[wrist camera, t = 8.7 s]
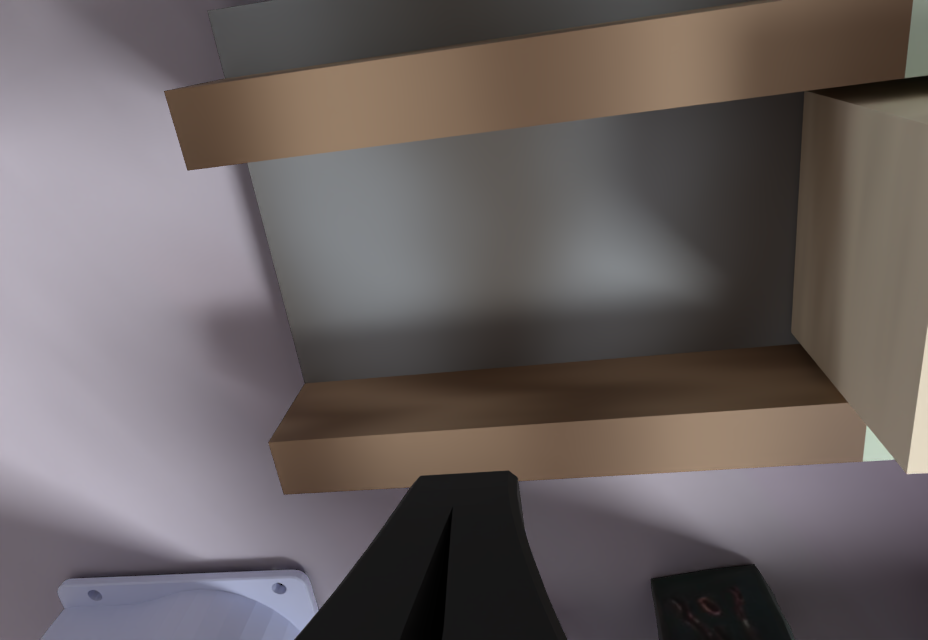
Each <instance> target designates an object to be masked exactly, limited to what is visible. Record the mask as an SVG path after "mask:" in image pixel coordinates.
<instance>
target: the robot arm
mask: <svg viewBox="0 0 928 640" xmlns="http://www.w3.org/2000/svg"><path fill="white" fill-rule="evenodd" d="M278 583H281V584H283V585H285V586H283V585H280V584H278ZM57 593H58V597H59V599H60V601H61V603H62V605H63V607H64V610H63V611H62V612H61V613H60V615H59V616H58V617H57V618H56V620H55V621H54V622H53V624H52V625H51V626H50V627H49V629H48V630H47V631H46V632H45V634H44V635H43V636H42V637H41V639H40V640H567V638H566V636H565V633H564V631H563V629H562V627H561V625H560V623H559V620H558V618H557V616H556V614H555V611H554V609H553V607H552V604H551V602H550V600H549V597H548V595H547V593H546V590H545V587H544V585H543V582H542V579H541V577H540V574H539V571H538V569H537V566H536V563H535V561H534V558H533V555H532V552H531V549H530V546H529V543H528V540H527V536H526V533H525V529H524V521H523V514H522V506H521V498H520V491H519V483H518V477H517V476H515V475H514V474H513V473H511V472H510V471H509V470H507V471H491V472H474V473H457V474H440V475H423V476H420V477H419V478H418V479H417V480H416V481H415V482H414V483H413V485H412V486H411V487H410V489H409V490H408V492H407V493H406V495H405V496H404V498H403V499H402V500H401V502H400V503H399V505H398V506H397V508H396V509H395V511H394V512H393V513H392V515H391V516H390V518H389V519H388V521H387V522H386V523H385V525H384V526H383V528H382V529H381V530H380V532H379V533H378V535H377V536H376V537H375V539H374V540H373V541H372V543H371V544H370V546H369V547H368V548H367V550H366V551H365V552H364V554H363V555H362V556H361V558H360V559H359V560H358V561H357V563H356V564H355V565H354V567H353V568H352V569H351V571H350V572H349V573H348V575H347V576H346V577H345V579H344V580H343V581H342V582H341V584H340V585H339V586H338V588H337V589H336V590H335V591H334V593H333V594H332V595H331V596H330V598H329V599H328V600H327V601H326V602H325V604H324V605H323V606H322V607H321V608H320V610H318V606H317V603H316V600H315V596H314V593H313V589H312V586H311V583H310V580H309V578H308V576H307V575H306V574H305V573H303V572H302V571H299V570H270V571H245V572H221V573H196V574H172V575H148V576H123V577H99V578H74V579H67V580H65V581H64V582H63V583H62V584H61V586H60V587H59V588H58V591H57Z"/></svg>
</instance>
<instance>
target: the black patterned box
mask: <svg viewBox="0 0 928 640" xmlns="http://www.w3.org/2000/svg"><path fill="white" fill-rule="evenodd" d="M651 589H652V595H653V601H654V608H655V614H656V619H657V627H658V635H659V640H795V639H794V636H793V634H792V631H791V628H790V626H789V624H788V623H787V621H786V619H785V618H784V616H783V614H782V612H781V610H780V608H779V605H778V603H777V601H776V598H775V596H774V594H773V592H772V591H771V589H770V588H769V586H768V584H767V583H766V581H765V580H764V578H763V577H762V575H761V574H760V572H759V570H758V569H757V567H756V566H755V565H754V564H753V565H747V566H738V567H729V568H718V569H709V570H703V571H698V572H692V573H686V574H680V575H675V576H670V577H664V578H655V579H651Z"/></svg>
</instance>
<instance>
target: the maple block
mask: <svg viewBox="0 0 928 640" xmlns="http://www.w3.org/2000/svg"><path fill="white" fill-rule="evenodd" d="M791 333H792V334H793V335H794V337H795V338H796V339H797V340H798V342H799V343H800V344H801V345H802V346H803V348H804V349H805V350H806V351H807V353H808V354H809V355H810V356H811V357H812V359H813V360H814V361H815V362H816V364H817V365H818V366H819V367H820V368H821V370H822V371H823V372H824V373H825V375H826V376H827V377H828V378H829V379H830V381H831V382H832V383H833V384H834V386H835V387H836V388H837V389H838V391H839V392H840V393H841V394H842V395H843V397H844V398H845V399H846V400H847V402H848V403H849V404H850V405H851V406H852V408H853V409H854V410H855V411H856V413H857V414H858V415H859V416H860V417H861V419H862V420H863V421H864V422H865V424H866V425H867V426H868V427H869V428H870V430H871V431H872V432H873V433H874V435H875V436H876V437H877V438H878V440H879V441H880V442H881V443H882V444H883V446H884V447H885V448H886V449H887V451H888V452H889V453H890V454H891V455H892V457H893V458H894V459H895V460H896V462H897V463H898V464H899V465H900V466H901V468H902V469H903V470H904V471H905V473H906V474H919V473H928V75H926V76H918V77H911V78H903V79H895V80H887V81H879V82H872V83H864V84H856V85H848V86H841V87H833V88H825V89H817V90H810V91H804V107H803V125H802V143H801V161H800V179H799V197H798V216H797V234H796V252H795V270H794V288H793V306H792V324H791Z"/></svg>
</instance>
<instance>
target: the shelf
mask: <svg viewBox="0 0 928 640" xmlns="http://www.w3.org/2000/svg"><path fill="white" fill-rule="evenodd" d="M207 12H208V15H209V19H210V23H211V27H212V31H213V34H214V38H215V42H216V46H217V50H218V54H219V57H220V61H221V65H222V69H223V73H224V77H225V79H221V80H216V81H211V82H206V83H201V84H197V85H192V86H187V87H182V88H177V89H172V90H167V91H164V93H165V96H166V100H167V103H168V106H169V110H170V113H171V116H172V120H173V123H174V127H175V130H176V133H177V137H178V140H179V143H180V147H181V150H182V153H183V157H184V160H185V164H186V167H187V170H195V169H203V168H211V167H219V166H227V165H234V164H242V163H247V164H248V168H249V172H250V176H251V180H252V184H253V187H254V191H255V195H256V199H257V203H258V206H259V210H260V214H261V218H262V222H263V226H264V229H265V233H266V237H267V241H268V245H269V248H270V252H271V256H272V260H273V264H274V268H275V271H276V275H277V279H278V283H279V287H280V291H281V294H282V298H283V302H284V306H285V310H286V313H287V317H288V321H289V325H290V329H291V333H292V336H293V340H294V344H295V348H296V352H297V356H298V359H299V363H300V367H301V371H302V375H303V378H304V382H305V384H304V386H303V387H302V389H301V390H300V392H299V394H298V395H297V397H296V399H295V400H294V402H293V403H292V405H291V407H290V408H289V410H288V411H287V413H286V415H285V416H284V418H283V420H282V421H281V423H280V424H279V426H278V428H277V429H276V431H275V433H274V434H273V436H272V437H271V439H270V441H269V442H268V443H269V446H270V450H271V453H272V456H273V460H274V463H275V467H276V470H277V473H278V477H279V480H280V483H281V487H282V490H283V493H284V495H285V494H302V493H320V492H337V491H355V490H372V489H390V488H407V487H411V486H412V485H413V483H414V482H415V481H416V480H417V479H418V478H419V477H420V476H423V475H440V474H457V473H474V472H491V471H507V470H509V471H510V472H511V473H513V474H514V475H515V476H517V477H518V481H530V480H548V479H565V478H583V477H600V476H618V475H635V474H653V473H670V472H688V471H705V470H723V469H740V468H758V467H775V466H793V465H811V464H828V463H846V462H863V461H881V460H895V459H894V458H893V457H892V455H891V454H890V453H889V452H888V451H887V449H886V448H885V447H884V446H883V444H882V443H881V442H880V441H879V440H878V438H877V437H876V436H875V435H874V433H873V432H872V431H871V430H870V428H869V427H868V426H867V425H866V424H865V422H864V421H863V420H862V419H861V417H860V416H859V415H858V414H857V413H856V411H855V410H854V409H853V408H852V406H851V405H850V404H849V403H848V402H847V400H846V399H845V398H844V397H843V395H842V394H841V393H840V392H839V391H838V389H837V388H836V387H835V386H834V384H833V383H832V382H831V381H830V379H829V378H828V377H827V376H826V375H825V373H824V372H823V371H822V370H821V368H820V367H819V366H818V365H817V364H816V362H815V361H814V360H813V359H812V357H811V356H810V355H809V354H808V353H807V351H806V350H805V349H804V348H803V346H802V345H801V344H800V343H799V342H798V340H797V339H796V338H795V337H794V335H793V334H792V333H791V324H792V306H793V288H794V270H795V252H796V234H797V216H798V197H799V179H800V161H801V143H802V125H803V107H804V91H810V90H817V89H825V88H833V87H841V86H848V85H856V84H864V83H872V82H879V81H887V80H895V79H903V78H911V77H918V76H926V75H928V0H271V1H265V2H259V3H253V4H247V5H240V6H234V7H228V8H222V9H216V10H210V11H207Z"/></svg>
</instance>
